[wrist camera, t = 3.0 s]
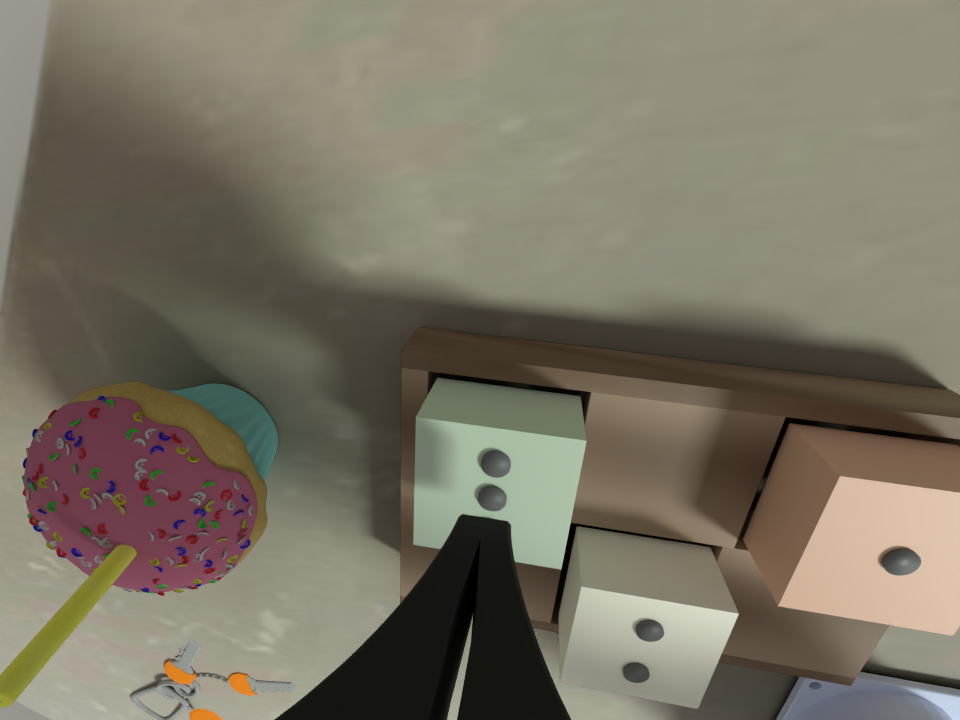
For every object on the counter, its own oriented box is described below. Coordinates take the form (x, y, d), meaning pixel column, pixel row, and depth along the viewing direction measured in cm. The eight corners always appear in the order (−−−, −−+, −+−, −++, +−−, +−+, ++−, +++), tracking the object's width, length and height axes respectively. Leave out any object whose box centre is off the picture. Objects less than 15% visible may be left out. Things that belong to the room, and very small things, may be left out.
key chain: (202, 742, 33) (194, 755, 32) (120, 684, 32) (110, 697, 31) (306, 687, 29) (299, 701, 28) (217, 616, 27) (207, 629, 26)
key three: (559, 511, 17) (561, 572, 15) (432, 491, 18) (412, 547, 15) (580, 396, 15) (586, 443, 13) (437, 377, 16) (414, 419, 13)
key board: (818, 631, 21) (850, 686, 18) (414, 561, 22) (400, 603, 20) (950, 390, 16) (1015, 425, 13) (420, 327, 18) (401, 349, 15)
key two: (677, 636, 19) (698, 712, 16) (558, 615, 19) (559, 685, 17) (710, 547, 17) (740, 616, 14) (576, 526, 17) (581, 589, 15)
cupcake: (329, 381, 19) (36, 660, 8) (305, 525, 23) (75, 857, 12) (140, 319, 19) (-395, 510, 8) (145, 471, 23) (-231, 748, 12)
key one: (888, 562, 16) (955, 639, 13) (742, 539, 17) (779, 609, 14) (956, 445, 14) (1051, 508, 11) (789, 423, 15) (842, 479, 12)
